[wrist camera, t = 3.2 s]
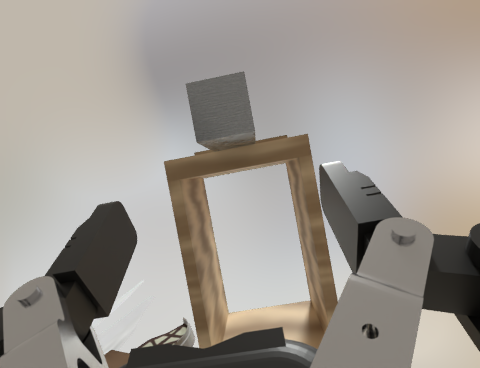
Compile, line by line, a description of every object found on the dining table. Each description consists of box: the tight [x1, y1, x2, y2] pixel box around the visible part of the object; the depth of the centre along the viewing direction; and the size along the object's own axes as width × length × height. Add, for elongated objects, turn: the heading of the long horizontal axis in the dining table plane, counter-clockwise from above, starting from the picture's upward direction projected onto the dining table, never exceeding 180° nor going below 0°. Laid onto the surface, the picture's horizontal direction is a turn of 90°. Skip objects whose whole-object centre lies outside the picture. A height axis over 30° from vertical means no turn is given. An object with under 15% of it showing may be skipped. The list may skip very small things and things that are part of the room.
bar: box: [186, 72, 256, 152], centre depth 30 cm, size 22×4×4 cm, turn 176°
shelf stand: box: [164, 134, 338, 349], centre depth 35 cm, size 16×14×34 cm
